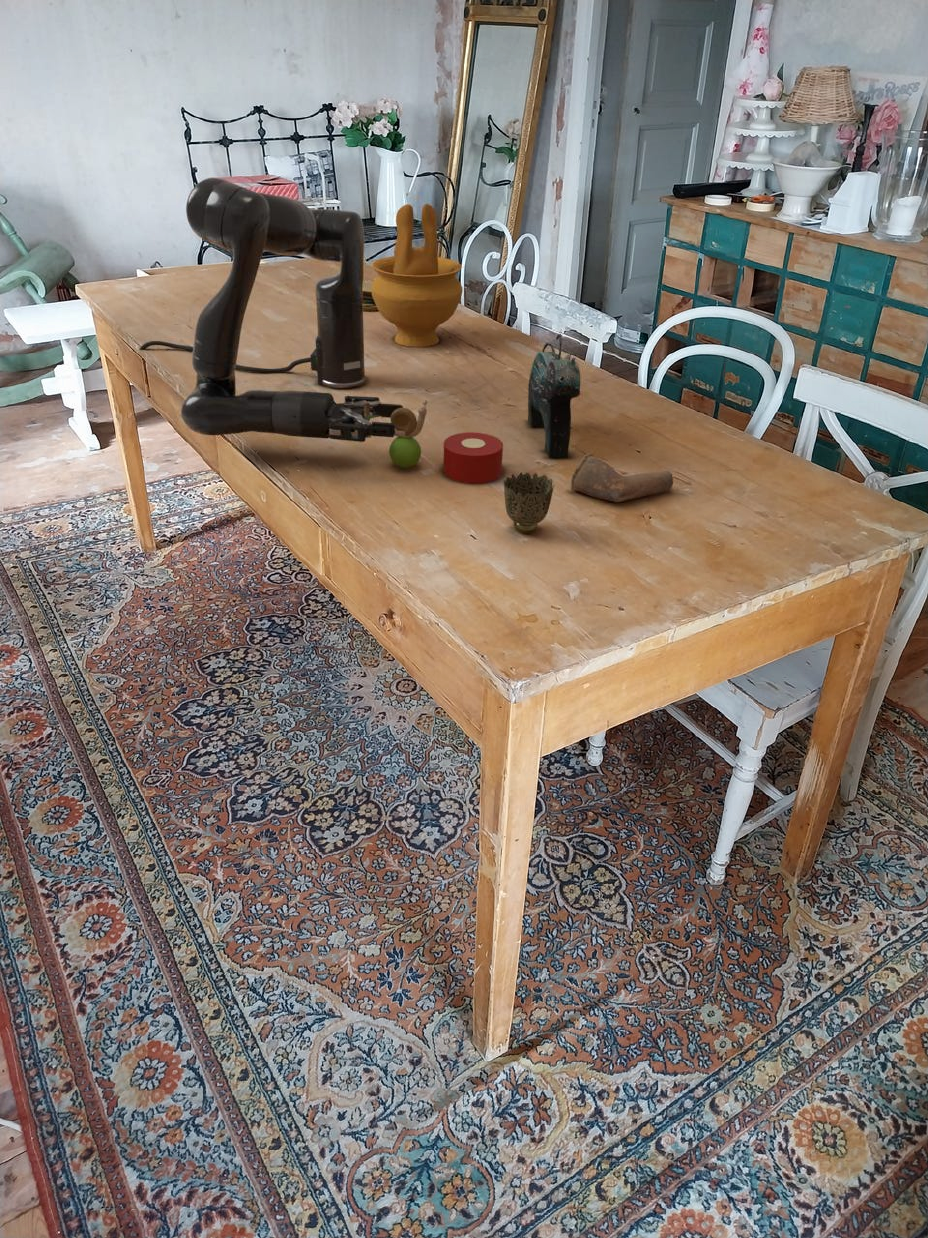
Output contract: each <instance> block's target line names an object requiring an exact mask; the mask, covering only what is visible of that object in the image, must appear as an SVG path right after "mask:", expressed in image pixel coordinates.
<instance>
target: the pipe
mask: <svg viewBox="0 0 928 1238" xmlns="http://www.w3.org/2000/svg"><path fill="white" fill-rule="evenodd" d="M673 485H674V477H673V473H672V472H671V471H669V470H658V471H647V472H641V473H633V474H630V475H624V474H620V473H619V472H618V471H617V470H615V468H613V467H611V466H610V465H608V464H607V463H606V461H603V460H602V459H600V458H597V457H595V455H594V454H592V453H587V454H585V455H584V456H582V458H581V460H580V461H579V462H578V465H577V466H576V468H575V470H574V473H573V474H572V477H571V486H570V488H571V490H573V491H574V492H580V493H582V494H585V495H588V496H590V497H593V498H594V499H595V498H596V499H600V500H604V501H609V502H613V503H621V502H624V501H628V500H634V499H639V498H643V497H647V496H651V495H657V494H662V493H666V492H669V491H670V490H671V489H672V487H673Z"/></svg>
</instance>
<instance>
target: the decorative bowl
mask: <svg viewBox="0 0 928 1238" xmlns="http://www.w3.org/2000/svg"><path fill="white" fill-rule="evenodd" d="M414 215H415V214H414V208H413V206H412V205H411V204H407V203H406V204H404V205H402V206H401V207H400V208H399V209H397V212H396V215H395V225H396V230H397V231H396V232H397V237H396V241H395V245H394V249H393V254H394V255H393V256H386V257H382V258H379V259H375V261H373V262H371V267H372V268H373V270H374V271H375V272H376V273H377V276H376V277H375V278H374V279H373V280H372V281H373V283H372V285H371V293H372V297H373V299H374V302H375V304H376V306H377V308H378V310H377V311H378V312H379V314H380V315H381V316H382V317H383V318H384V319H385V320H386V321H387V322H389V324H392V325H394V326H395V327H396V328H397V333H396V335H395V337H394V342H395V343H396V344H399V345H400V346H406V347H413V348H414V347H416V348H419V347H421V348H422V347H430V346H434V345H436V344H438V343H439V342H440V338H439V336H438V334H437V332H436V331H437V328H438V327H439V326H440V325H443V324H444V323H446V322H448V321H449V320H450V319H451V317H452V316H453V315H454V314H455V312H456V310H457V308H458V307H459V304H460V301H461V300H462V295H463V286H462V284H461V282H460V281H459V279H458V278H457V276H456V275H457V274H458V273H459V272H460V270H461V269H462V268H463V266H462V264H461V263H460V262H458V261H456V260H453V259H450V258H446V257H442V256H438V249H439V242H438V217H437V212H436V209H435V208H434V207H433V206H432V205H431V204H429V203H424V204H423V206H422V207H421V214H420V215H421V230H422V233H423V237H424V244H423V245H422V246H420V247H417V246H413V236H414V224H415V223H414V221H415V220H414V219H415V217H414Z"/></svg>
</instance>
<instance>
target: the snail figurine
mask: <svg viewBox="0 0 928 1238" xmlns="http://www.w3.org/2000/svg"><path fill="white" fill-rule="evenodd" d="M422 404H423V406H421V407H419V408H418V417H416V415H415V413H414V412H413V411H412V410H411V409H409V408H406V407H403V408H398V409H396V410H395V411H393V413H392V415H391V418H390V423H393V424H394V425H395V435H394V437H396V438H395V439H393V440H392V441H391V444H390V445H389V449H388V454H389V458H390V460H391V461H392V463H393V464H394V465H395V466H397V467H399V468H404V469H408V468H411V467H414V466H415V465H417V463H418V462H419V461H420V459H421V456H422V448H421V445H420V443H419V441H418V440H417V439H416V438H415V437H417V436H418V435H419V434H420V433H421V431H422V429H423V427H424V424H425V420H426V416H427V412H428V410H427V404H428V400H424V401H423V403H422Z"/></svg>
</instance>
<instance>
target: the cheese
mask: <svg viewBox="0 0 928 1238" xmlns="http://www.w3.org/2000/svg"><path fill="white" fill-rule="evenodd" d="M503 452H504V444H503V441H502V440H501V439H499V437H496V436H494V435H491V434H488V433H483V432H469V431H468V432H459V433H455V434H452V435H450V436H448V437H446V438H445V439H444V441H443V454H442V455H443V457H442V458H443V460H442V462H443V463H442V473H443V474H444V475H445V477H447V478H449V479H451V480H453V481H456V482H460V483H465V484H485V483H491V482H493V481H495V480H497V479H499V478H500V477H501V475H502V471H503V469H502V468H503V454H504V453H503Z"/></svg>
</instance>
